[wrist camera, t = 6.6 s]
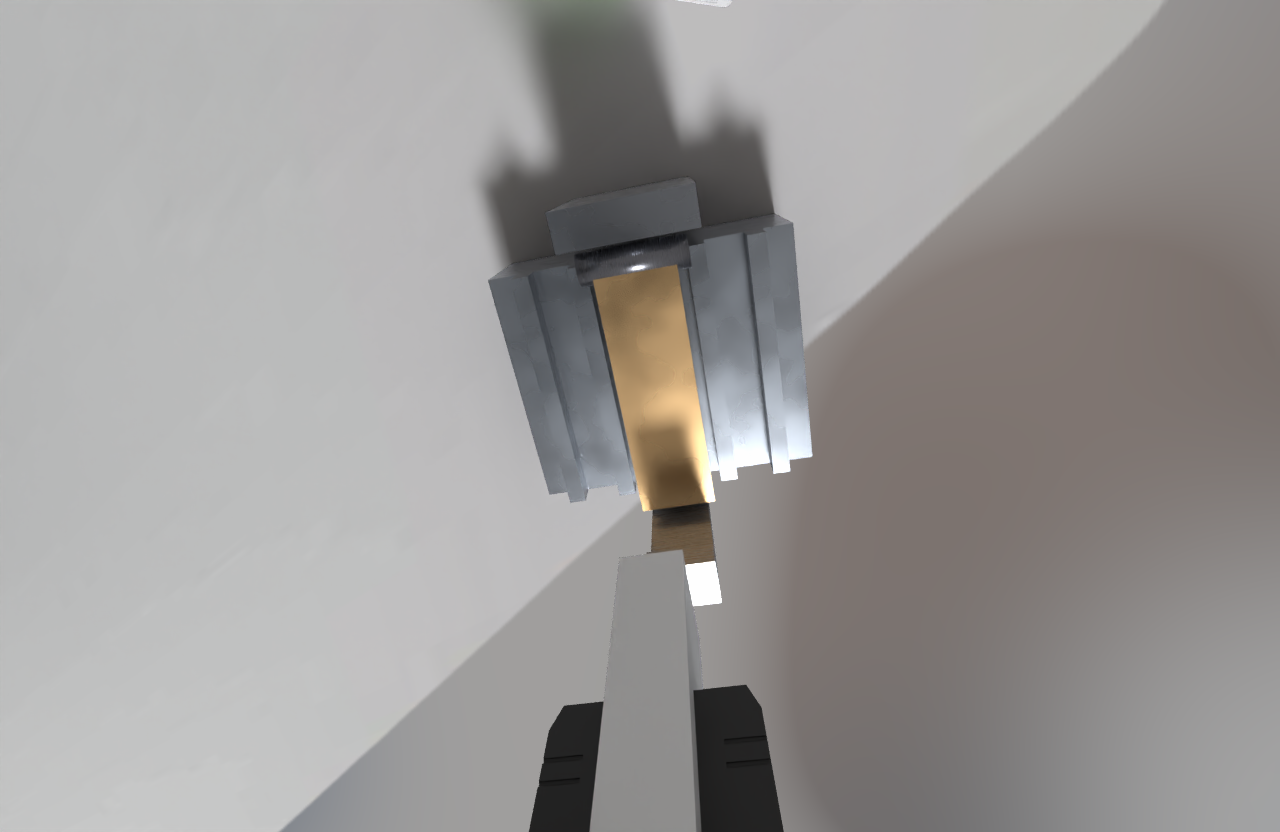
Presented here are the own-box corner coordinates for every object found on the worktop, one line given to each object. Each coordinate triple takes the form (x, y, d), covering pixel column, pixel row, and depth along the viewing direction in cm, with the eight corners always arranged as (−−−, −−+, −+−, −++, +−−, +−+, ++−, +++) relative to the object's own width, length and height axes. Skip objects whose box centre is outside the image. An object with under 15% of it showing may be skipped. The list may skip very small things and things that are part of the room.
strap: (632, 499, 26) (631, 514, 24) (577, 251, 22) (572, 256, 20) (724, 485, 25) (727, 500, 24) (686, 231, 21) (687, 234, 20)
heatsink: (569, 479, 32) (526, 626, 22) (498, 214, 26) (397, 248, 16) (796, 446, 30) (860, 586, 20) (769, 159, 25) (838, 160, 15)
